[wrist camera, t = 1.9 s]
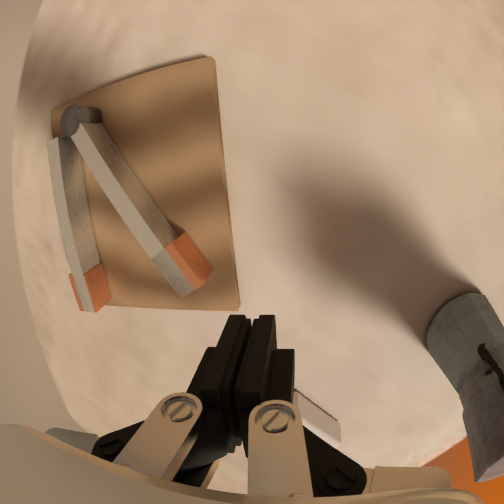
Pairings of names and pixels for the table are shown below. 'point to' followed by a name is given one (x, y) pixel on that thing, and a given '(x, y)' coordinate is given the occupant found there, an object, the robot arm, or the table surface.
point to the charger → (318, 421)
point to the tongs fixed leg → (76, 225)
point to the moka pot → (474, 374)
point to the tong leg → (135, 202)
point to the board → (165, 182)
